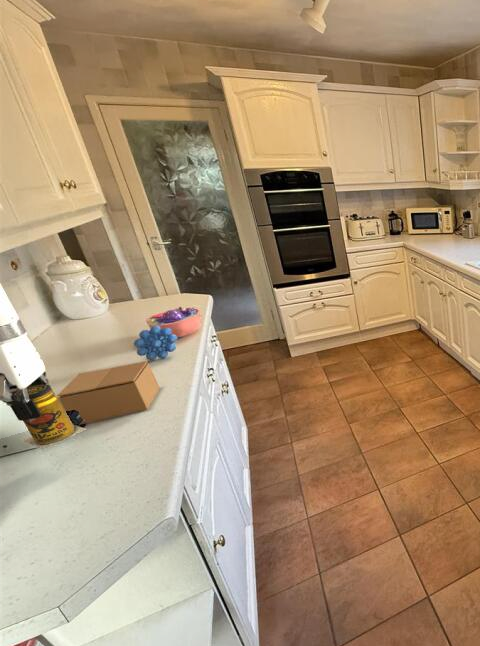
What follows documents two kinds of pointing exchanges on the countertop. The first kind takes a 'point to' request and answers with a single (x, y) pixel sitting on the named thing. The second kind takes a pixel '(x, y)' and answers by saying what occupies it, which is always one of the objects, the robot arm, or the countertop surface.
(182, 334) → the cell model
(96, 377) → the flap
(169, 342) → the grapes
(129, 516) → the countertop surface
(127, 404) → the carton
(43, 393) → the condiment
